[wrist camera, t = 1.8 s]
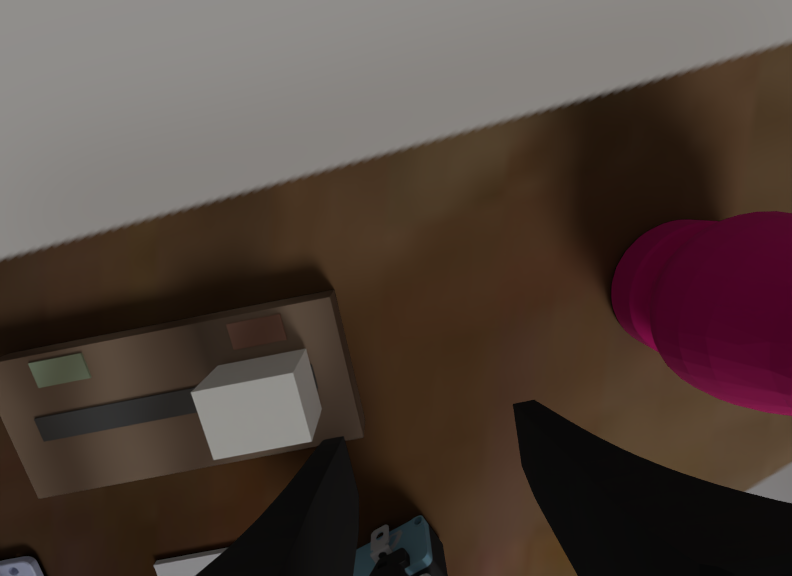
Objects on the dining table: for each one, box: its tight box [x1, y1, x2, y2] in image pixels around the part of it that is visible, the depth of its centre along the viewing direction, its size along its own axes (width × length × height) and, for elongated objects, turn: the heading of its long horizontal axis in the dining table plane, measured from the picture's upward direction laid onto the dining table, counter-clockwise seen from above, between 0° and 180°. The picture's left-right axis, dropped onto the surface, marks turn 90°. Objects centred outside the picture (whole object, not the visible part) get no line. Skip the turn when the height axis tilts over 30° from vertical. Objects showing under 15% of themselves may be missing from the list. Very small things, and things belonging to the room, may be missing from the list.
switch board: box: [0, 289, 365, 499], centre depth 19 cm, size 16×7×2 cm, turn 101°
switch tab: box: [191, 349, 322, 460], centre depth 17 cm, size 4×3×2 cm
